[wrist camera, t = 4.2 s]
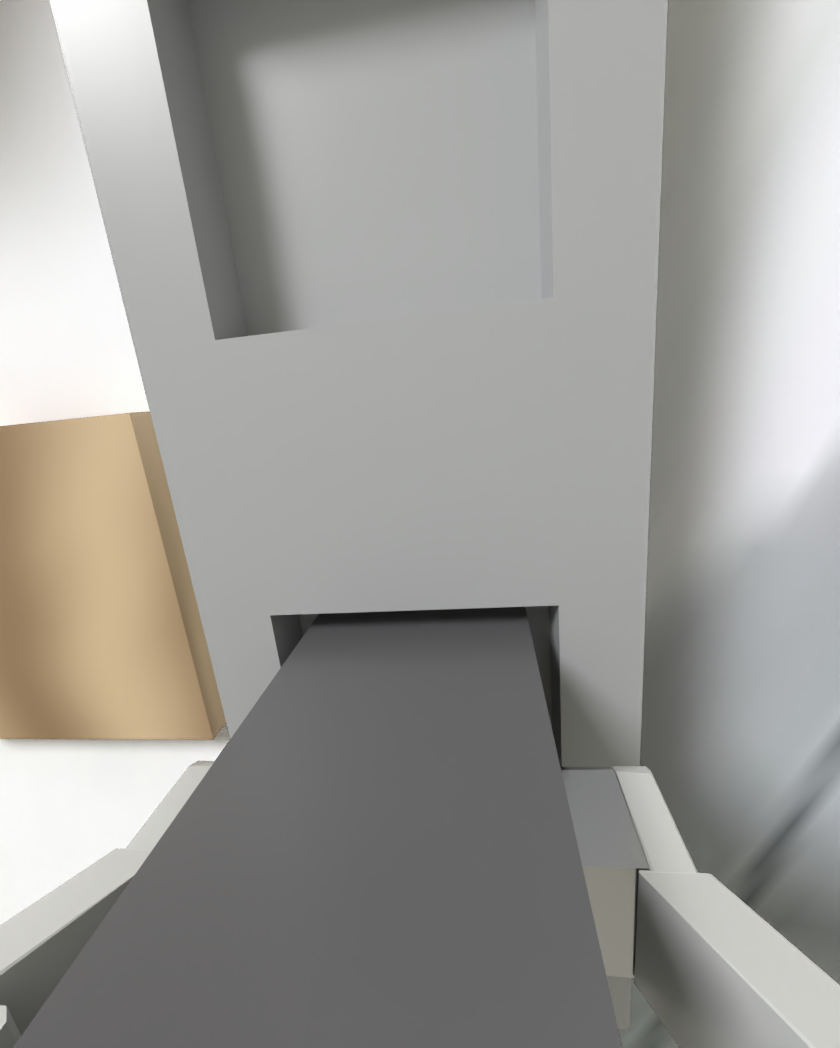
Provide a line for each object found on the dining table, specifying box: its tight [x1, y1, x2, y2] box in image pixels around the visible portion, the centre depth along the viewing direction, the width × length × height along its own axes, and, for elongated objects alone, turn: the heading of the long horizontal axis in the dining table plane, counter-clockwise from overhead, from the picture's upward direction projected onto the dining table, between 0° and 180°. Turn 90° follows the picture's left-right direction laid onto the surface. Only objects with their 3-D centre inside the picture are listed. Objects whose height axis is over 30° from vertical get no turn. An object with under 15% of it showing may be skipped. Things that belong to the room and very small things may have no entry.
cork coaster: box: [0, 412, 226, 740], centre depth 13 cm, size 9×9×1 cm
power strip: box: [49, 0, 668, 1030], centre depth 8 cm, size 8×32×4 cm, turn 5°
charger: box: [13, 607, 622, 1048], centre depth 7 cm, size 4×4×7 cm
